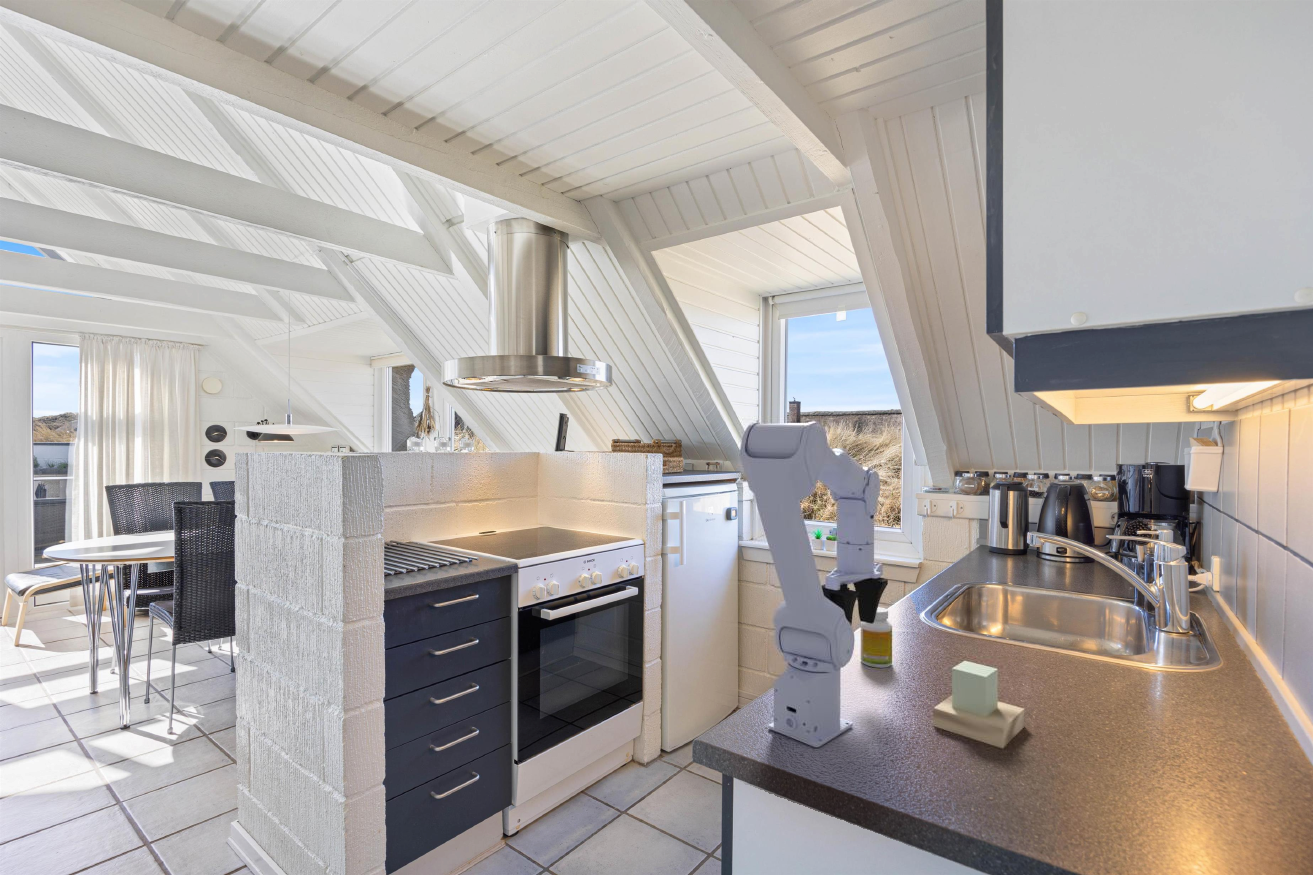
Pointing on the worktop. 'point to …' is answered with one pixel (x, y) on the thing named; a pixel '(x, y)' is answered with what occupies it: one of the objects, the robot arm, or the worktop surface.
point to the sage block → (975, 688)
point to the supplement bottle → (877, 641)
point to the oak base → (981, 722)
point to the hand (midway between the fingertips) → (855, 626)
